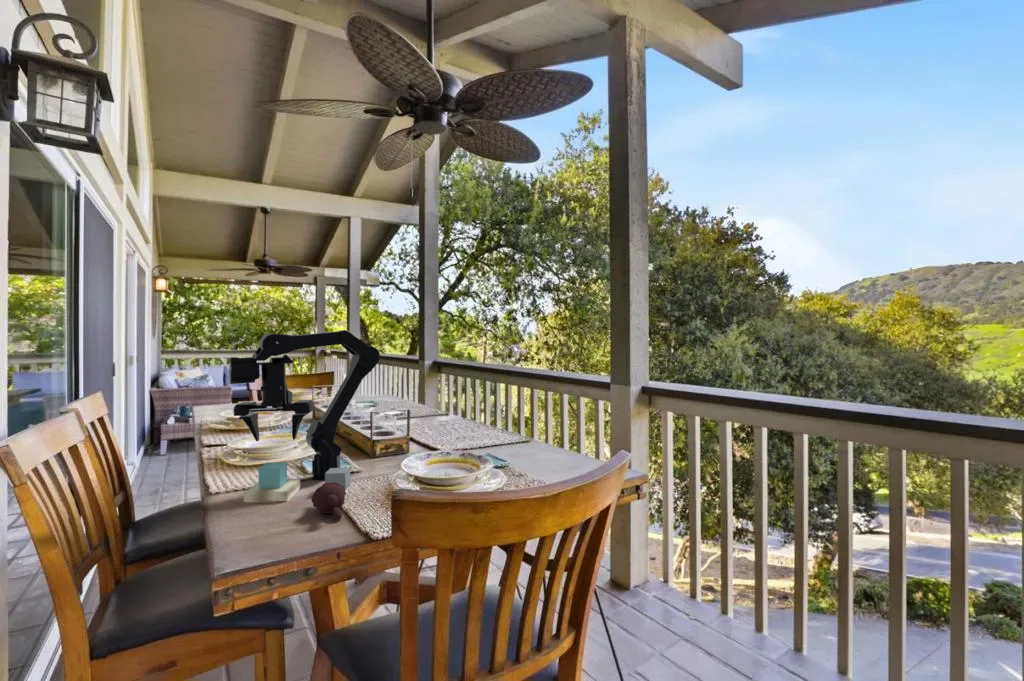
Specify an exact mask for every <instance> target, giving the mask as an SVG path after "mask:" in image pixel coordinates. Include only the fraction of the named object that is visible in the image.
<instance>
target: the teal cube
mask: <svg viewBox="0 0 1024 681" xmlns="http://www.w3.org/2000/svg"><path fill="white" fill-rule="evenodd" d="M287 479H288V462H286V461H285V462H283V461H282V462H265V463H264V464H262V465H261V466H260V467H259V468H258V481H259V489H268V488H281V487H282V486H283V485H284V484H285V483H287Z"/></svg>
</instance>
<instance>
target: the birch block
mask: <svg viewBox="0 0 1024 681" xmlns="http://www.w3.org/2000/svg"><path fill="white" fill-rule="evenodd" d="M300 489H301V478H287V483H285V484H284V485H283V486H282V487H281V488H268V489H259V480H258V481H257V482H255V484H253V485H252V486H251V487H249V488H248V489H247V490H246V491H244V492H243V503H244V502H261V503H277V502H276V501H287V502H289V500H290V499H291V498H292V497H293V496H294V495H295V494H296V493H297V492H298V491H299V490H300Z"/></svg>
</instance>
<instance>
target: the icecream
mask: <svg viewBox="0 0 1024 681" xmlns="http://www.w3.org/2000/svg"><path fill="white" fill-rule="evenodd" d="M346 494H347V491H346V492H345V488H344V486H342V485H340V484H338V483H336V482H332V483H325V482H324V483H323V484H322V485H321V486H320V487H317V488H316V489H315V491H314V494H313V495H312V498H311V503H312V506H313V507H314V508H315V509H317V510H318V511H319V512H320V513H324V514H329V515H331V514H332V515H333V518H334V520H336V521H337V522H338V521H340V520H341V519H342V517H343V515H342V511H341V508H342V506H343V505H344V504H345V500H346V498H345V497H346Z"/></svg>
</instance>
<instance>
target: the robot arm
mask: <svg viewBox="0 0 1024 681" xmlns="http://www.w3.org/2000/svg"><path fill="white" fill-rule="evenodd" d="M258 343H259V344H258V346H259V347H258V348H257V349H256V351H255V352H253V355H252V356H251V357H250V356H249V357H236V356H235V357H234V356H233V357H232V356H231V357H230V358H229V365H228V366H229V369H228V380H229V385H243V384H253V383H256V380H258V379H260V376H261V386H260V391H261V392H262V393H261V394H262V397H261V398H262V402H260V404H257V401H243V402H240V403H237V404H235V405H234V407H233V412H232V413H233V417H239V418H238V419H239V420H243V422H244V423H245V425H246V426H247V427H248V429H249V431H250V432H251V434H252V436H253V437H254V440H255V442H259V441H260V429H259V420H258V419H259V413H260V412H264V413H265V412H284V411H285V412H288V411H291V412H294V414H292V416H291V435H292V436H291V437H292V440H293V441H294V440H296V438H297V435H298V431H299V428H300V425H301V423H302V420H303V419H304V417H305V416H307V415H309V413H312V412H313V411H314V410H315V402H314V401H313V400H312V399H298V400H296V401H295V402H293V392H292V391H291V390H290V389H288V383H287V378H286V364H294V360H292V359H291V358H290V357H289V355H288V353H291V352H295V351H297V350H302V349H310V348H319V347H327V346H328V347H329V346H338V345H341V346H342V347H343V348H344V349H345V350H346V351H347V352H348V353H349V354H351V355H352V357H351V360H350V363H349V368H348V372H347V374H346V376H345V378H344V380H343V381H342V383H341V385H340V386H339V388H338V390H337V391H336V394H334V396H333V399H332V400H331V402H330V404H329V405H328V407H327V409H326V410H325V413H324V414H323V416H321V417H320V418H319V419H318V420H317V419H315V418H313V419H312V421H311V422H310V423H311V424H310V426H309V428H307V429H306V430H305V433H306V436H305V442H306V443H307V445H308V447H310V448H311V449H312V450H313V451H314V453H315V454H314V455H313V460H312V461H311V467H312V468H311V469H312V470H311V471H312V474H311V475H312V477H311V478H312V480H325V473H326V472H327V471H328V470H329V469H330V468H341V452H342V447H340V446H339V445H338V444H337V443H336V442H334V440H335V439H336V438H335V437H336V435H337V429H338V426H339V422H340V420H341V418H342V417H343V415H344V413H345V411H346V410H347V408H348V406H349V405H350V402H351V401H352V399H353V397H354V395H355V394H356V392H357V390H358V388H359V386H360V385H361V383H362V381H363V379H364V378H365V377H366V376H367V375H368V374H369V373H371V372H372V371H373V369H374V368H375V367H376V366H377V365H378V364H379V361H380V359H381V355H380V352H379V350H378V348H376V347H375V346H371V345H368V344H366V342H364V341H363V340H361V339H360V338H358V337H357V336H355V335H354V334H352V332H351V331H349V330H346V329H345V330H343V329H341V330H337V331H328V332H318V333H317V332H316V333H309V334H296V335H295V334H283V333H282V334H281V333H267V334H264V335H262V337H261V338H260V339H259V341H258ZM281 355H282V356H281ZM279 356H281V357H279ZM267 359H269V361H267ZM261 361H262V362H261ZM260 366H261V368H260ZM260 370H261V373H260Z"/></svg>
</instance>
